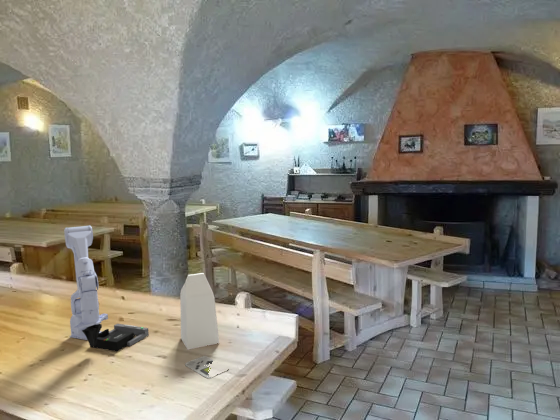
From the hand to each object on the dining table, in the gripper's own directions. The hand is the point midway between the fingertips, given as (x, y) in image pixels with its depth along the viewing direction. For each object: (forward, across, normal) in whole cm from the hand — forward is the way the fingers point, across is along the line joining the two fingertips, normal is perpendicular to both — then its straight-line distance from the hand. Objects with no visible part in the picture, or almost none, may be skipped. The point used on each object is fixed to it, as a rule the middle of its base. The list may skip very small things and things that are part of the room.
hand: (93, 345), depth 167 cm
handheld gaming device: (+4, +5, -44) cm, 45 cm away
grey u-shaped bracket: (+4, +15, 0) cm, 15 cm away
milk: (+4, +23, -30) cm, 38 cm away
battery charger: (+4, +9, 0) cm, 10 cm away
